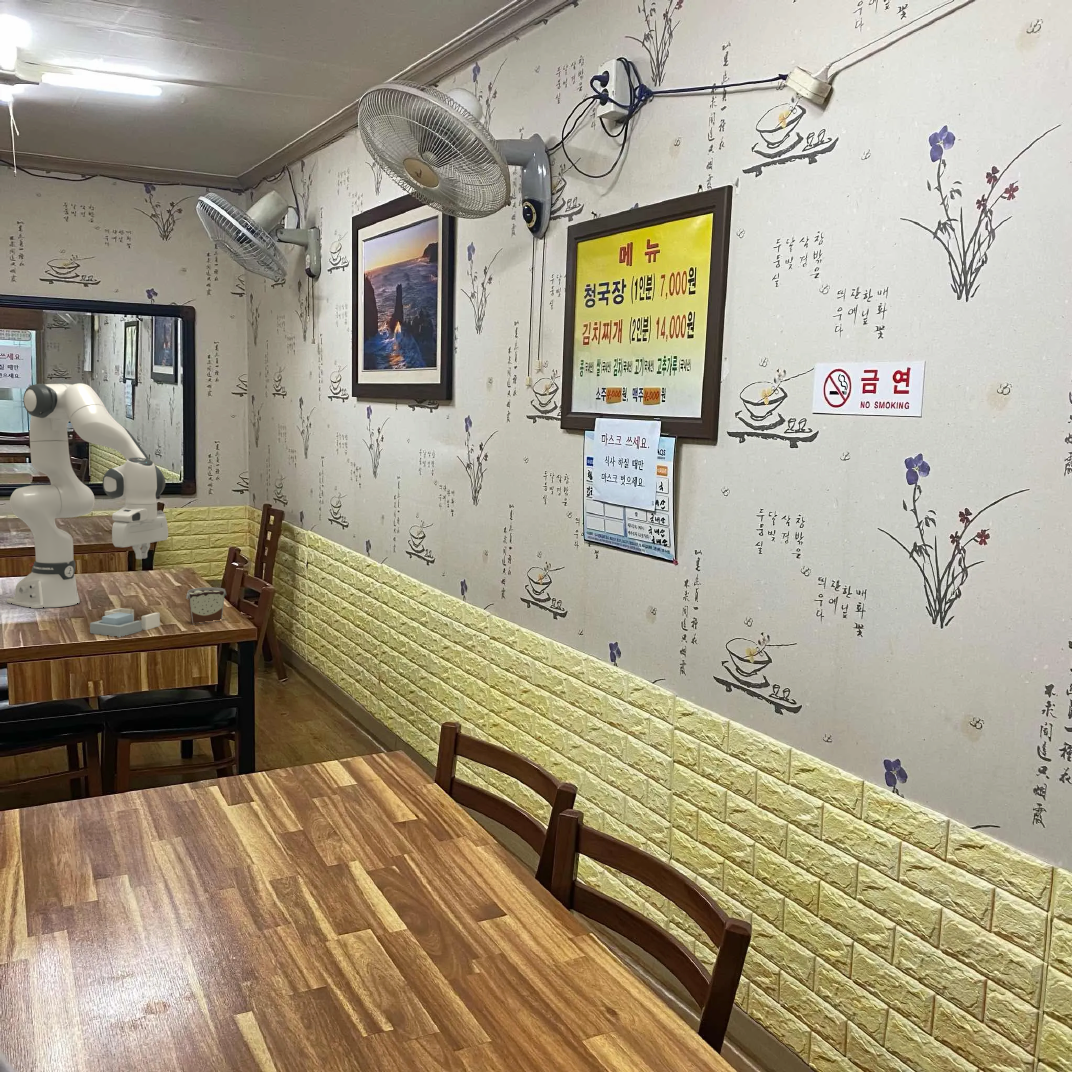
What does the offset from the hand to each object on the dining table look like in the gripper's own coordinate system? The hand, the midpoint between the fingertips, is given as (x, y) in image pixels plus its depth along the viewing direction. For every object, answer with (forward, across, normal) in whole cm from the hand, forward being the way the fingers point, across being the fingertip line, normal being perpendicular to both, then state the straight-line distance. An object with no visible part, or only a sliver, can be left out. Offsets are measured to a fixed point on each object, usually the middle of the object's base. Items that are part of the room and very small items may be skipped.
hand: (141, 558), depth 291 cm
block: (+20, +10, 0) cm, 23 cm away
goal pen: (+20, +10, 0) cm, 23 cm away
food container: (+20, -13, +12) cm, 27 cm away
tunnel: (+20, +2, -2) cm, 20 cm away
